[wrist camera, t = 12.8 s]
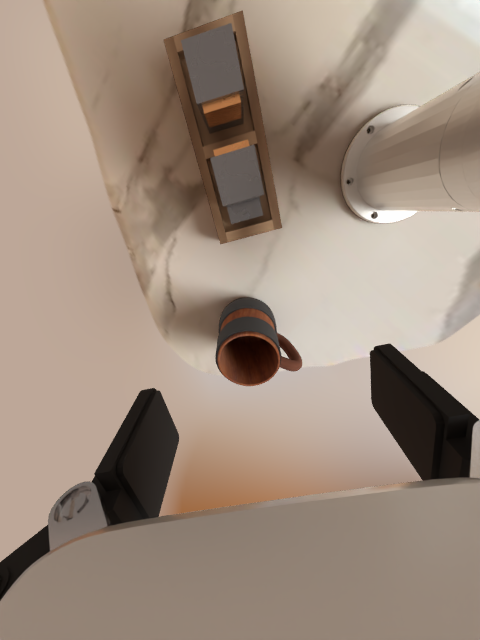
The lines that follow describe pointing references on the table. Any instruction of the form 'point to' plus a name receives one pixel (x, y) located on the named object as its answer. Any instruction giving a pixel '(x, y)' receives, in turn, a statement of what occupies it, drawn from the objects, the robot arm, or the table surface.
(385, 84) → the table surface
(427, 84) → the table surface
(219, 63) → the finger
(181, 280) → the table surface
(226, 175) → the twin finger
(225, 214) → the wooden divided tray
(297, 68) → the table surface
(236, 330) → the mug
